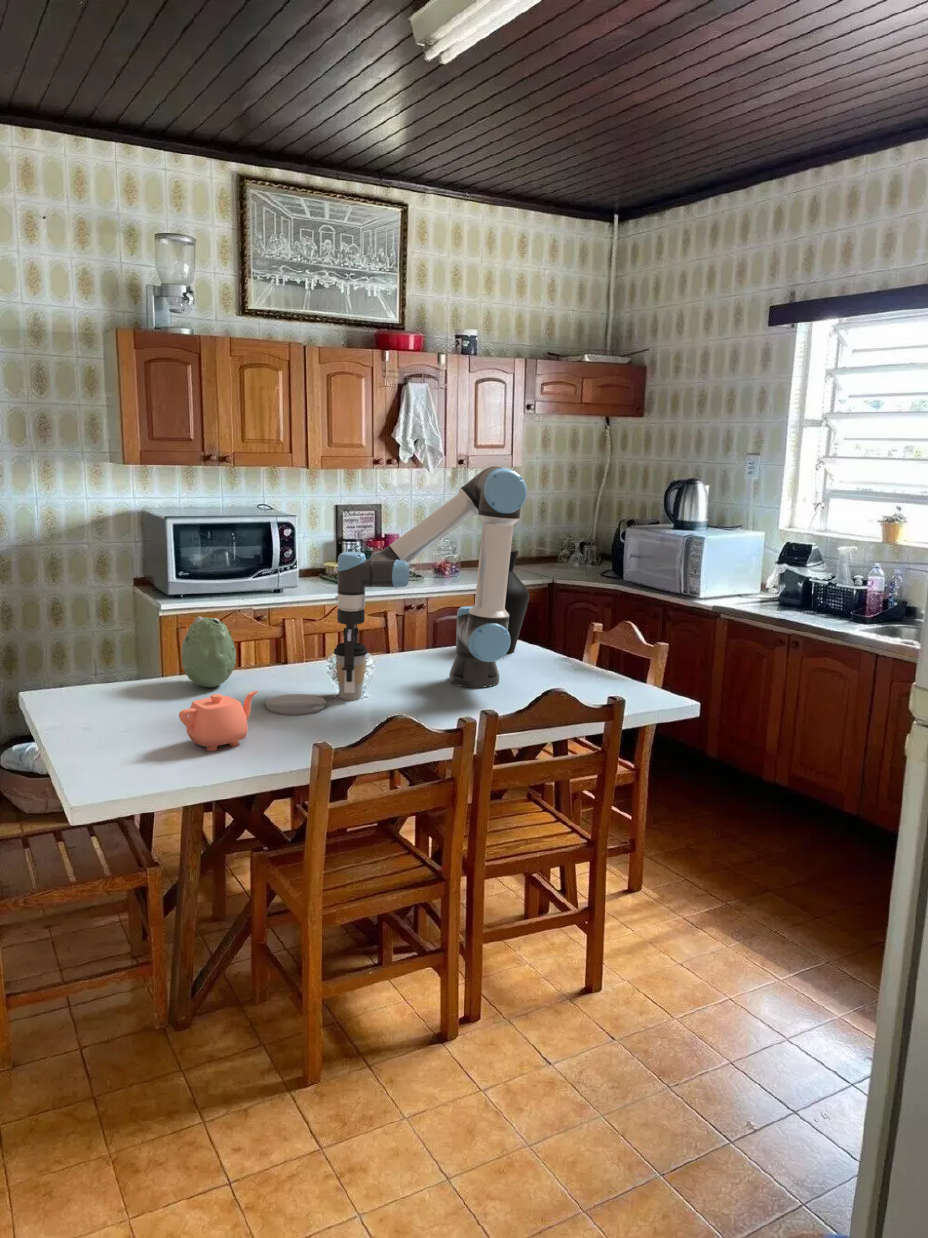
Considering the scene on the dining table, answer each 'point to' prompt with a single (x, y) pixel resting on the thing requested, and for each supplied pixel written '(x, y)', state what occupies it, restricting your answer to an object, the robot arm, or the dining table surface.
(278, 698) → the coaster
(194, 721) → the teapot
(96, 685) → the dining table surface
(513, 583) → the vase
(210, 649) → the green bumpy egg shape
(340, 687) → the coffee cup
